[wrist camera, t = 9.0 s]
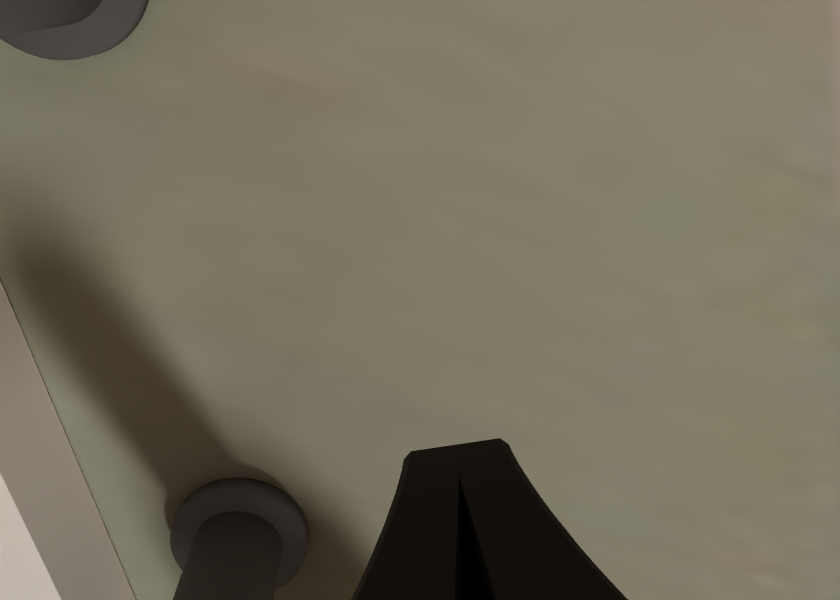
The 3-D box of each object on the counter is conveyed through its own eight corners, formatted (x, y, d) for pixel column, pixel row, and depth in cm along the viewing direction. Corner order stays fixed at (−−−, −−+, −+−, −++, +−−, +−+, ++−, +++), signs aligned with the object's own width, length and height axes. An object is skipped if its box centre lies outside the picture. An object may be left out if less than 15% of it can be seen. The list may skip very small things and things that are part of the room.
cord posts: (196, 588, 23) (88, 928, 15) (-73, -131, 15) (-640, -255, 7) (320, 570, 23) (280, 903, 15) (118, -165, 15) (-223, -331, 7)
